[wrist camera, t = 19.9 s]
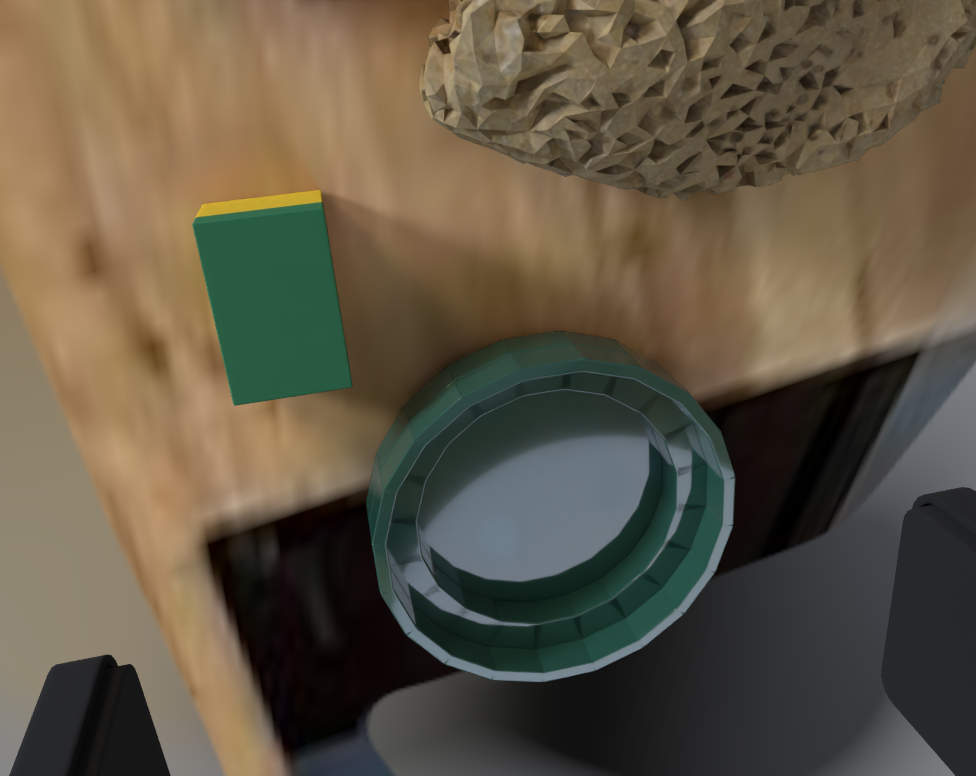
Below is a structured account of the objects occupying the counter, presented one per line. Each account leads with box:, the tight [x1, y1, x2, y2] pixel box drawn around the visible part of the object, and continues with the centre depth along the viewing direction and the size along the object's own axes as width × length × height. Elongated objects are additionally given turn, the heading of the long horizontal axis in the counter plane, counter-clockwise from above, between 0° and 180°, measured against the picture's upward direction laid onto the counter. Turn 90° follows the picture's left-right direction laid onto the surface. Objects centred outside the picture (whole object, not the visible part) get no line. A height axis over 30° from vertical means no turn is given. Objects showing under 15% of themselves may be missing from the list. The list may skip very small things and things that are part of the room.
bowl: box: [366, 331, 735, 682], centre depth 39 cm, size 16×16×4 cm
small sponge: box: [193, 190, 352, 406], centre depth 32 cm, size 7×4×4 cm, turn 5°
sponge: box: [419, 0, 976, 201], centre depth 30 cm, size 13×8×20 cm
